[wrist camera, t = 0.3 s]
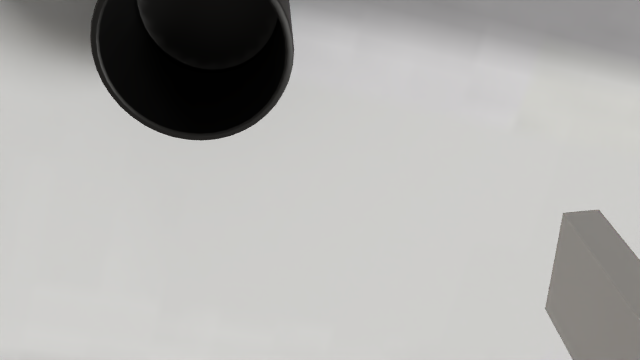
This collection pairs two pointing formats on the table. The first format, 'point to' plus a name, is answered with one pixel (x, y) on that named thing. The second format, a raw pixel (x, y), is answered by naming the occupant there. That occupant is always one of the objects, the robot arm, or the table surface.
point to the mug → (194, 61)
